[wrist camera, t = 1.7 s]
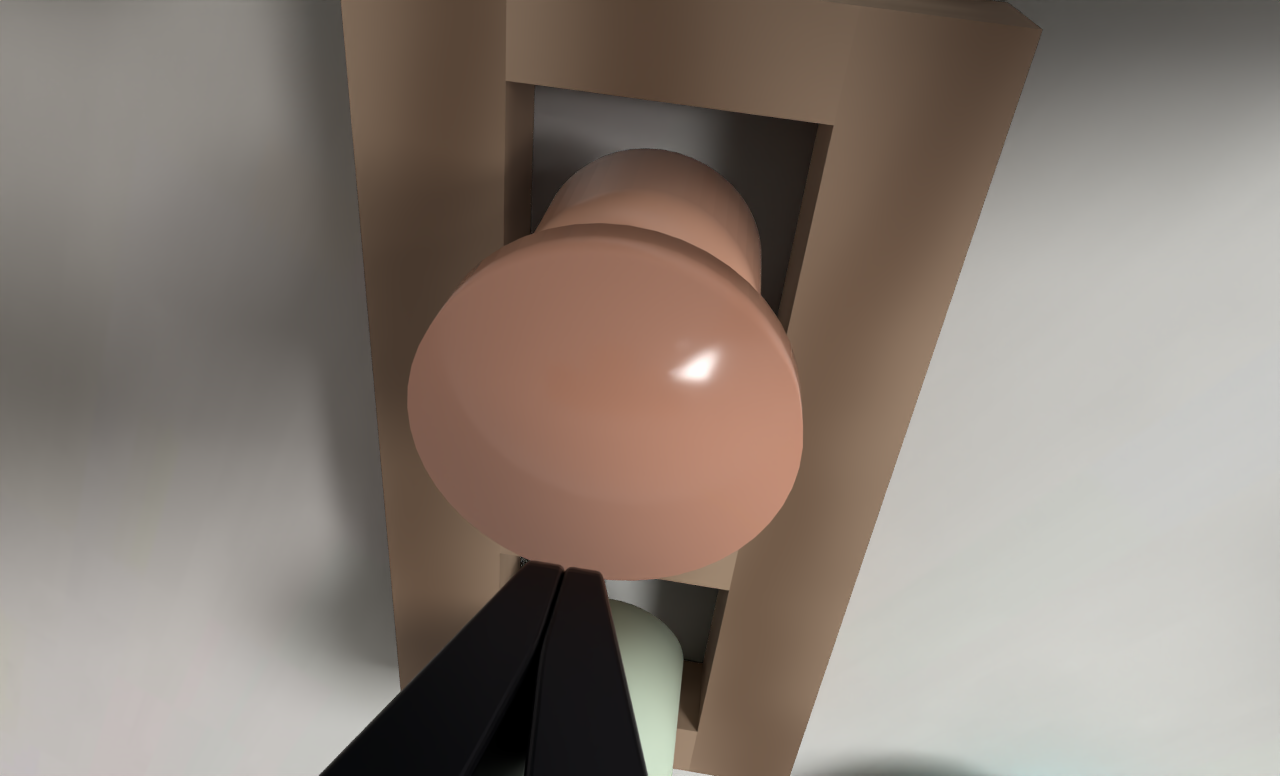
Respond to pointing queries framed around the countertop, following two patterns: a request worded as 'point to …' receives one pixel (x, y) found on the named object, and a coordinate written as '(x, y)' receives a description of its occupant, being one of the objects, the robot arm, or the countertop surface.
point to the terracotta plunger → (615, 378)
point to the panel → (811, 299)
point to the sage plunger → (651, 681)
